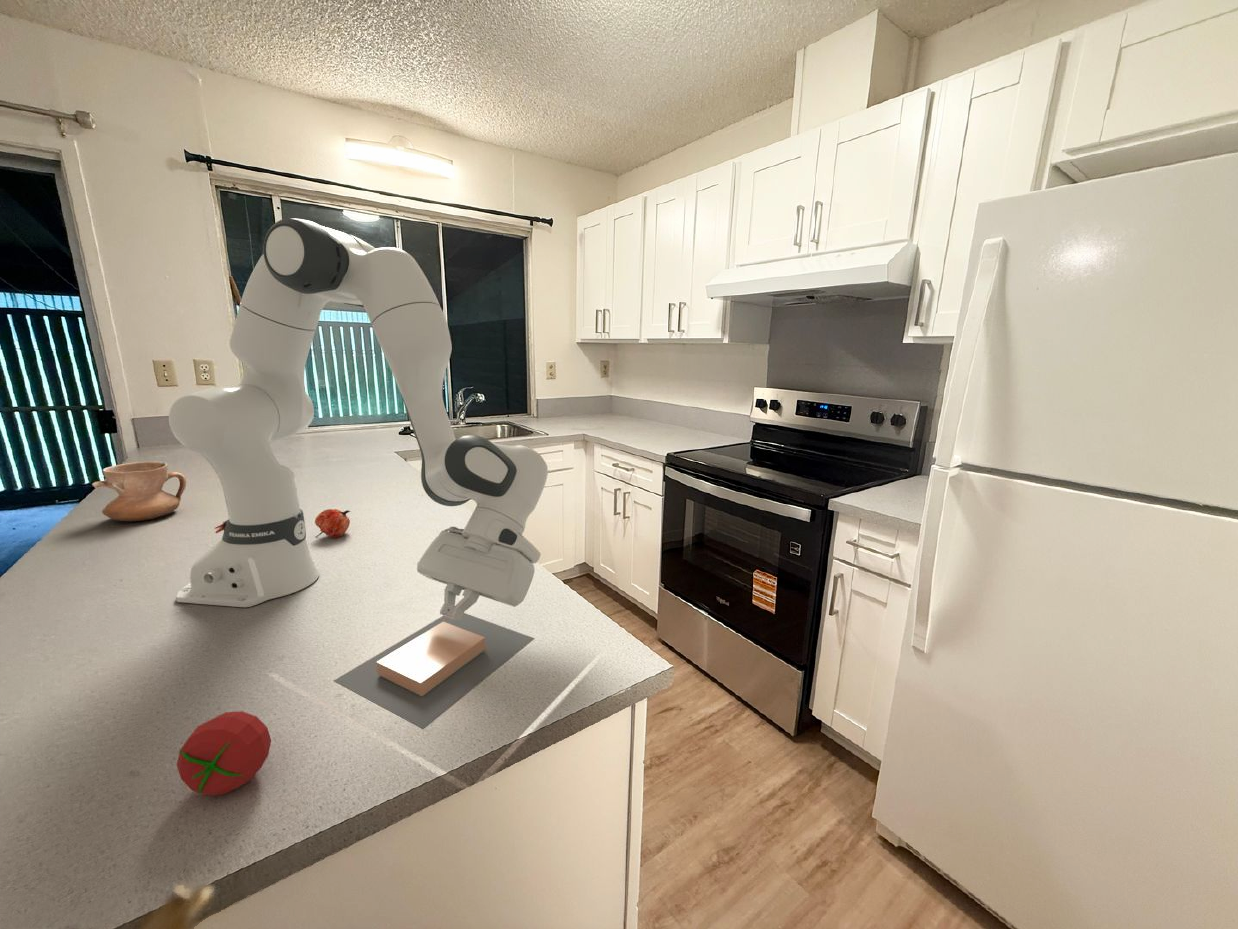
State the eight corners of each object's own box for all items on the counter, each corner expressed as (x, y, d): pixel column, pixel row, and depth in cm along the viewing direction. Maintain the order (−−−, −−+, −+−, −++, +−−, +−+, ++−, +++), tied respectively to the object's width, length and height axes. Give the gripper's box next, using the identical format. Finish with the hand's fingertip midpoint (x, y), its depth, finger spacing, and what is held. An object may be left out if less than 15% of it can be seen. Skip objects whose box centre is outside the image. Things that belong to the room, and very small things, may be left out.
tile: (443, 621, 78) (376, 662, 68) (485, 637, 74) (420, 683, 64) (444, 634, 79) (377, 676, 69) (485, 650, 75) (422, 698, 65)
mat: (454, 612, 87) (454, 609, 87) (534, 641, 78) (534, 638, 78) (334, 684, 68) (333, 680, 68) (423, 732, 60) (423, 728, 59)
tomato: (239, 685, 55) (187, 724, 47) (298, 723, 56) (257, 767, 48) (193, 742, 54) (134, 791, 47) (253, 779, 55) (205, 833, 48)
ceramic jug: (105, 531, 120) (93, 476, 117) (96, 518, 129) (85, 466, 126) (198, 514, 134) (189, 465, 131) (184, 503, 143) (176, 456, 140)
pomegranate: (318, 552, 116) (351, 526, 116) (296, 529, 115) (330, 503, 115) (332, 543, 124) (364, 519, 124) (312, 521, 122) (343, 497, 122)
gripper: (434, 516, 82) (389, 593, 76) (531, 540, 72) (488, 630, 66) (456, 532, 87) (415, 606, 81) (549, 556, 77) (510, 642, 71)
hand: (449, 617), depth 73 cm, fingers closed
